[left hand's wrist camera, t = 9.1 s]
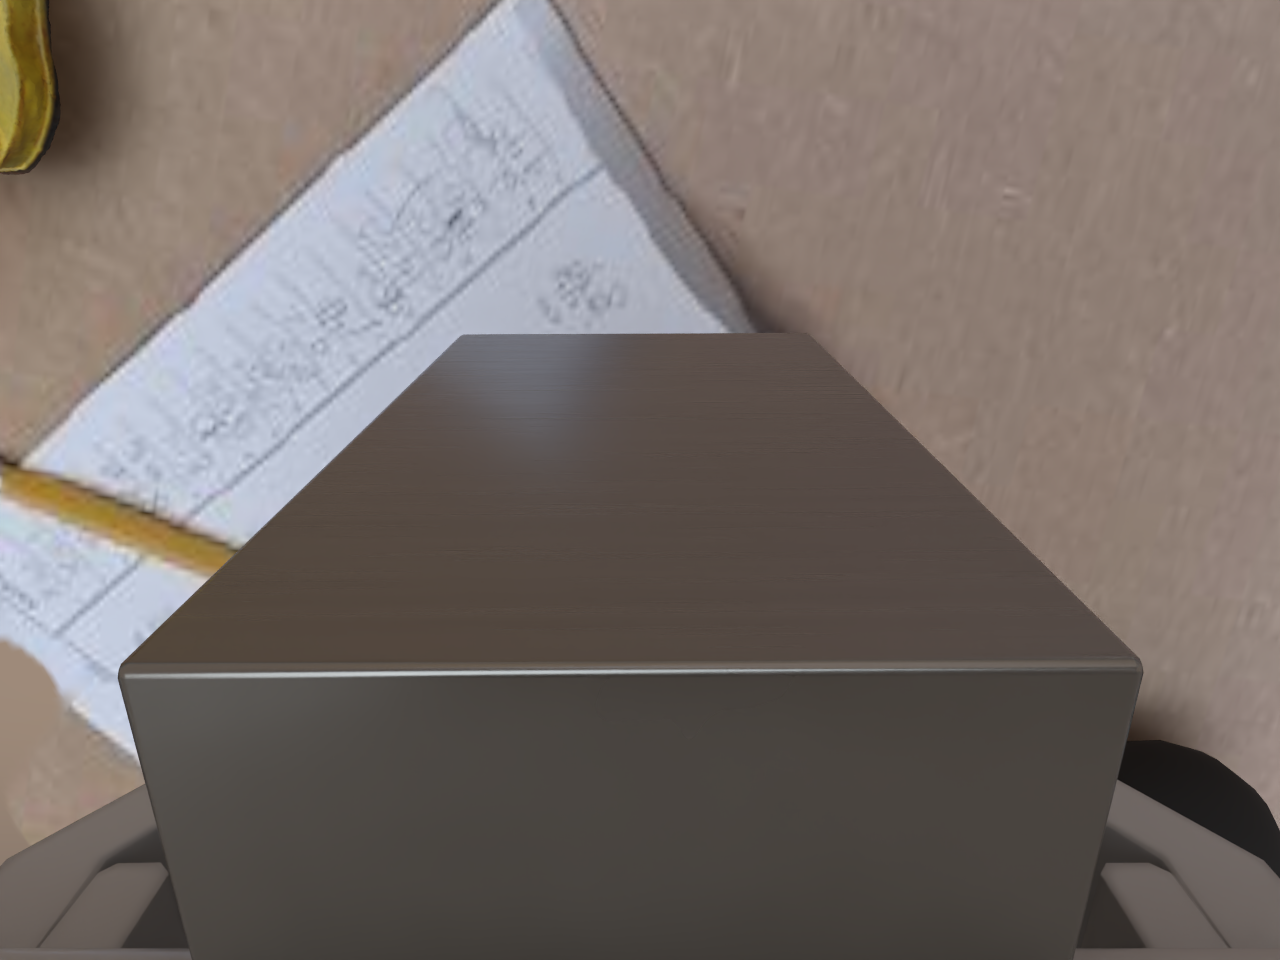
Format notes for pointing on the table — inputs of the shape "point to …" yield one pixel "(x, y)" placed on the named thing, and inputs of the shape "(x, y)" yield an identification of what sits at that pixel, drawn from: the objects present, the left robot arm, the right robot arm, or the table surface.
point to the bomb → (1203, 795)
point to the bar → (632, 682)
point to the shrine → (26, 85)
